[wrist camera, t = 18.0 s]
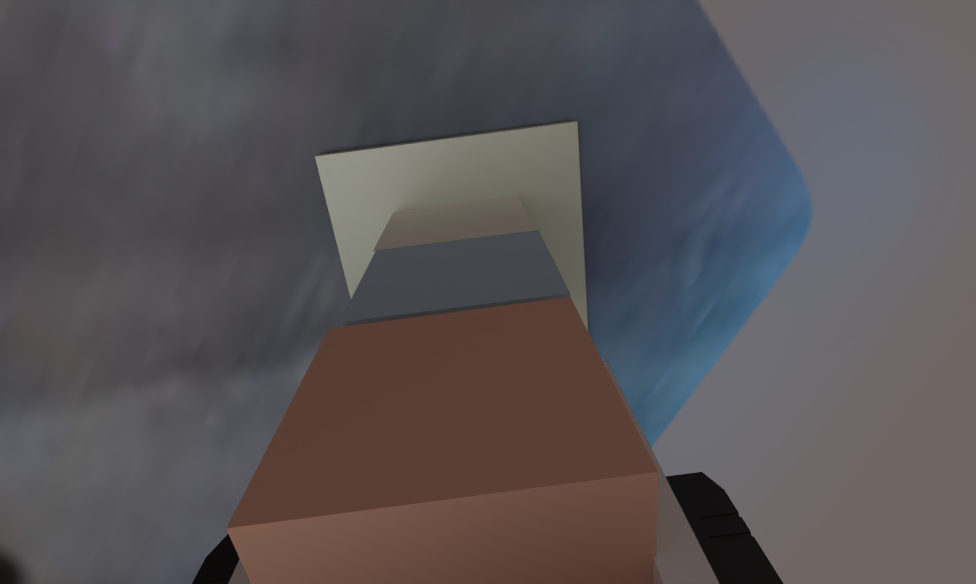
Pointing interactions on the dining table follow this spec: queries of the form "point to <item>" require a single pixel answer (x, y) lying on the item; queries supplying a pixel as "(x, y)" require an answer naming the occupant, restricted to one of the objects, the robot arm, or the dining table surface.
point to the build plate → (461, 190)
